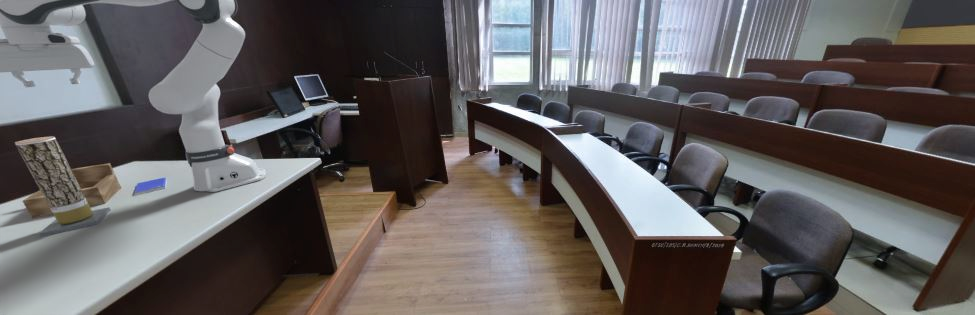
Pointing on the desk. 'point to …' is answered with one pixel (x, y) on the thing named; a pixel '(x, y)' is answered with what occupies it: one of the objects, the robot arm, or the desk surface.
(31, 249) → the desk surface
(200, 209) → the desk surface
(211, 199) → the desk surface
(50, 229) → the slate pad
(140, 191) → the hard drive
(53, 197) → the wooden log
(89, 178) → the frame
